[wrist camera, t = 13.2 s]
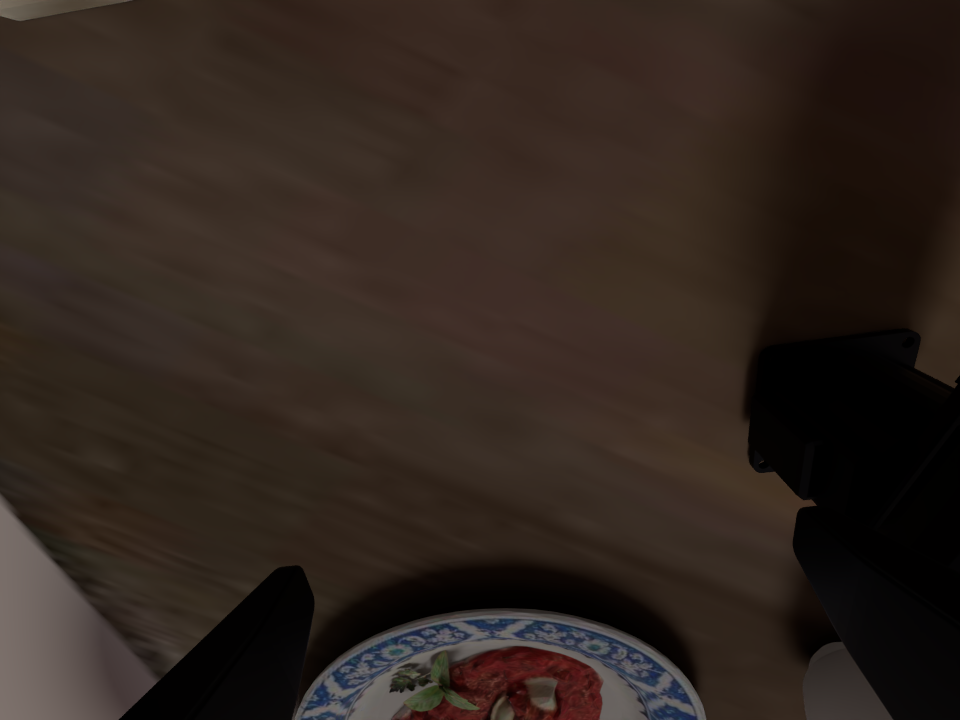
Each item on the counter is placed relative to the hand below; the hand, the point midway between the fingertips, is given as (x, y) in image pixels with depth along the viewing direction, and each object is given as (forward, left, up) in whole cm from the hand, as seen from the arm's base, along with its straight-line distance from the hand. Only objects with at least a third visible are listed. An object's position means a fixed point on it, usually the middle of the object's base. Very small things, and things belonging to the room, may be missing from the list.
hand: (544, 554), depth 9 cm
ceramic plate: (+4, +28, -14) cm, 31 cm away
